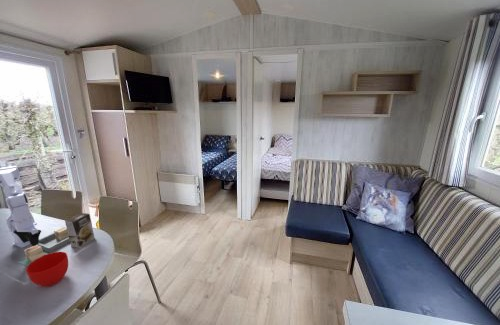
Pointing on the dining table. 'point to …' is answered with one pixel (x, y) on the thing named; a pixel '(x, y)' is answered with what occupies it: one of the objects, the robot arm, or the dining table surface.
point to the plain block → (61, 234)
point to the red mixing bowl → (48, 269)
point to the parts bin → (51, 243)
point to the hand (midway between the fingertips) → (30, 243)
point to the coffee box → (79, 230)
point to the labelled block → (34, 253)
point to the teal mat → (26, 262)
